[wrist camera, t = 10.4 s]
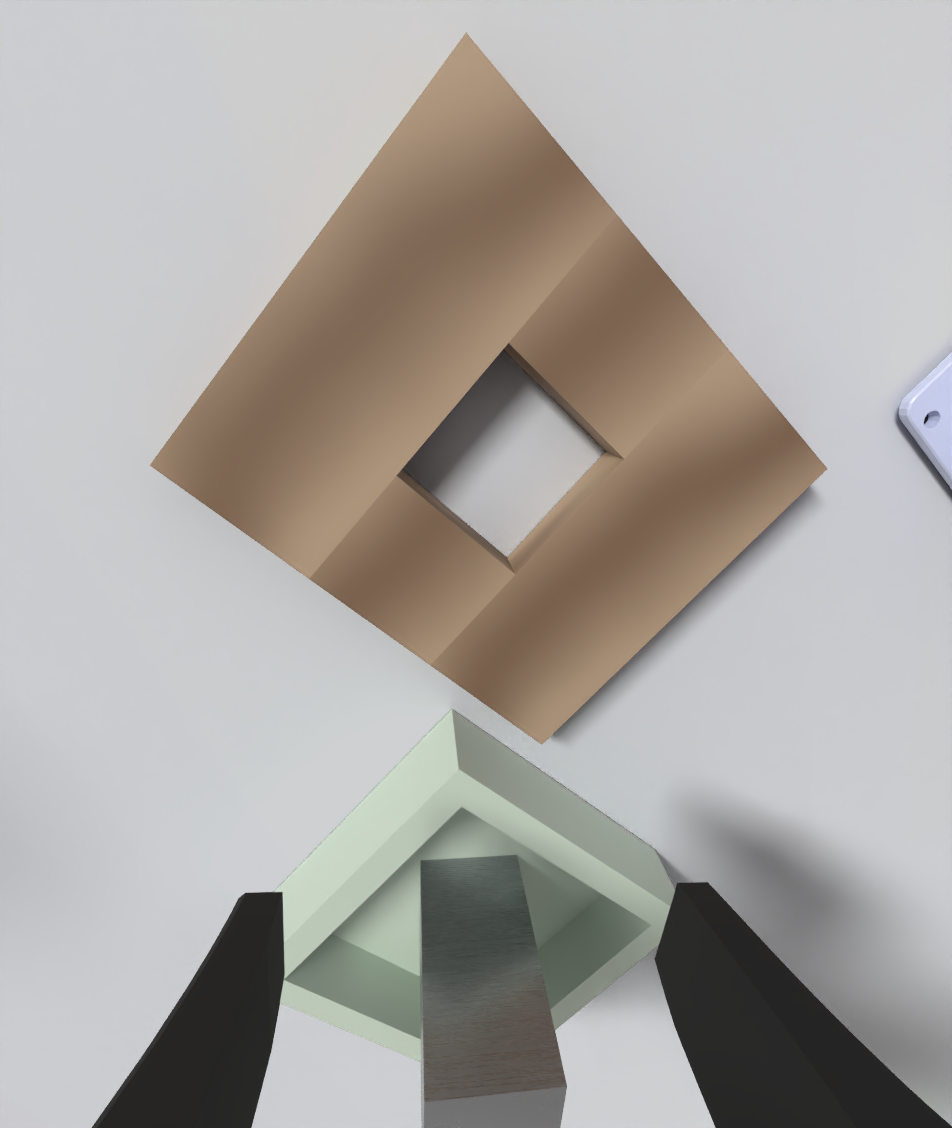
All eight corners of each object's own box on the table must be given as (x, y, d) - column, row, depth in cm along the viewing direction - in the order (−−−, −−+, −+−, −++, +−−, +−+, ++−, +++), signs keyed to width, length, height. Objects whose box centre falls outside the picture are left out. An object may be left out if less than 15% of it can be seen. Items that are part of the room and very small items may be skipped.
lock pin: (517, 854, 20) (566, 1086, 14) (510, 924, 21) (553, 1167, 15) (420, 860, 20) (423, 1102, 13) (419, 930, 21) (422, 1184, 14)
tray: (654, 849, 22) (689, 919, 19) (475, 1004, 24) (483, 1088, 21) (451, 709, 19) (458, 768, 16) (263, 902, 21) (240, 986, 18)
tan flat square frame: (793, 460, 17) (827, 468, 16) (532, 717, 19) (541, 744, 18) (460, 69, 13) (466, 32, 11) (174, 456, 15) (149, 465, 14)
